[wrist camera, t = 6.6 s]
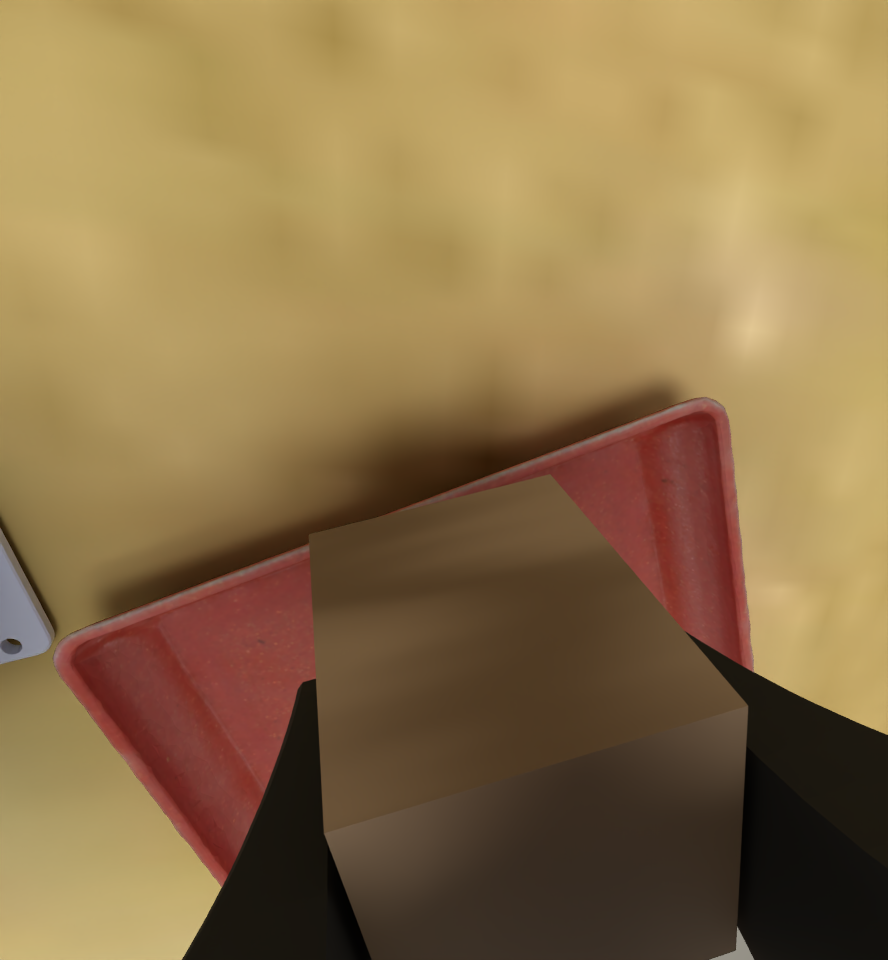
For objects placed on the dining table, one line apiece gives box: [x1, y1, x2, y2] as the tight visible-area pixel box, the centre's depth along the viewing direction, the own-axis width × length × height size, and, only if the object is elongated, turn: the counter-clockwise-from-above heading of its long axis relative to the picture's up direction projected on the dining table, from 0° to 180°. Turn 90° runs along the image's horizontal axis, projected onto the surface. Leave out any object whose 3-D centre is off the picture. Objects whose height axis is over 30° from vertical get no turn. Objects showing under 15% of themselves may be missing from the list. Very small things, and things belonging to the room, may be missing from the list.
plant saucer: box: [53, 397, 754, 887], centre depth 22 cm, size 18×18×3 cm
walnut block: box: [309, 474, 748, 960], centre depth 10 cm, size 4×4×6 cm
